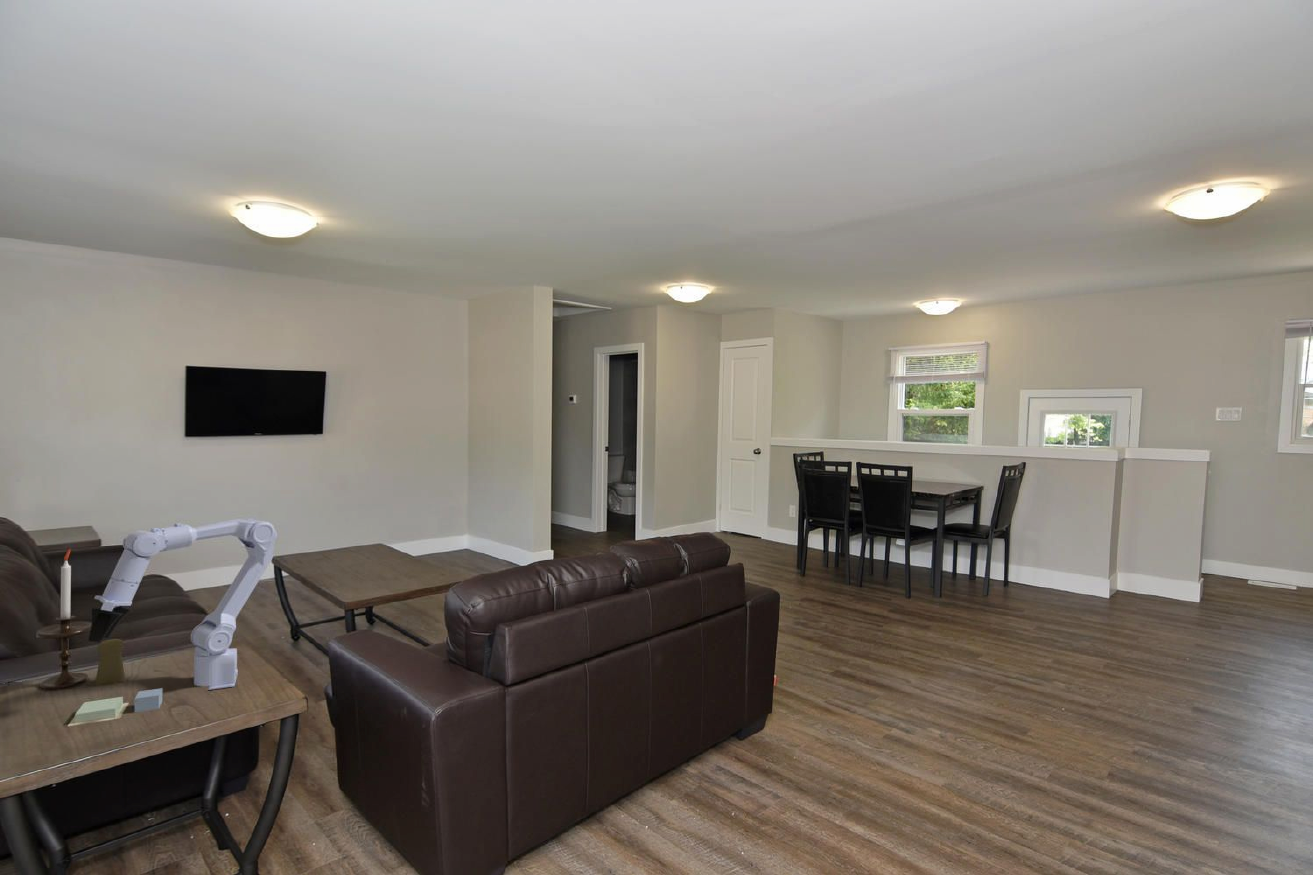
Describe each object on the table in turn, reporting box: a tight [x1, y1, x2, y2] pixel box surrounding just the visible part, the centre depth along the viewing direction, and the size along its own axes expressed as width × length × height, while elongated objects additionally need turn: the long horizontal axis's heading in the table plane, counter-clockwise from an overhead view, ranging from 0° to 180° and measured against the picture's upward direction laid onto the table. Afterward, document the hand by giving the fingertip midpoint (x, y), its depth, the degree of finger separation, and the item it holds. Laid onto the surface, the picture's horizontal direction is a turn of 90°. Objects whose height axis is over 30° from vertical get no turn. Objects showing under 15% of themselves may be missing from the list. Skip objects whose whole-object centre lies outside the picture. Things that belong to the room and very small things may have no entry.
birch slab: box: [67, 702, 130, 727], centre depth 148 cm, size 9×9×2 cm
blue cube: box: [134, 687, 163, 713], centre depth 153 cm, size 4×4×4 cm
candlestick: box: [35, 548, 92, 691], centre depth 167 cm, size 11×11×35 cm
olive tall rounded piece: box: [94, 638, 126, 687], centre depth 168 cm, size 6×6×11 cm
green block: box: [74, 696, 124, 723], centre depth 148 cm, size 7×7×2 cm
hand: (98, 639), depth 149 cm, fingers open, 7 cm apart
